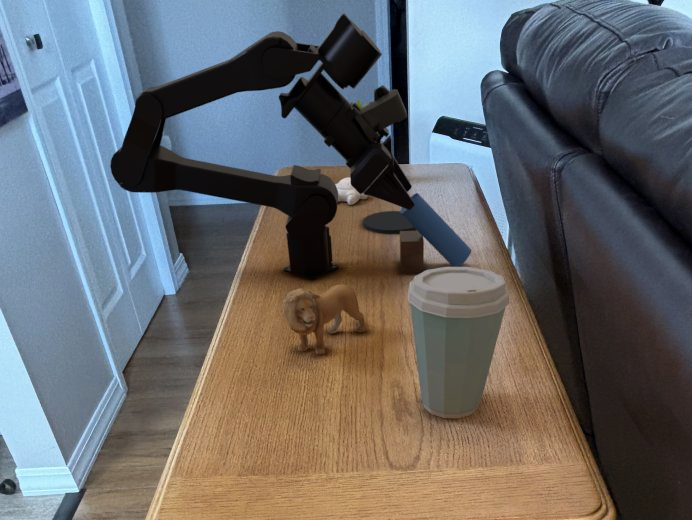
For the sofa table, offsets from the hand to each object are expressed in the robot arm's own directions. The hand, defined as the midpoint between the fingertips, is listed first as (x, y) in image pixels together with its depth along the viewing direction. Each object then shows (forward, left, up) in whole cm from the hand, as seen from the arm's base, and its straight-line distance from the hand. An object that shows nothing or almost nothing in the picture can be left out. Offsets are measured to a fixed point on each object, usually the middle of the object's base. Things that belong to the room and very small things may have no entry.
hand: (411, 198), depth 110 cm
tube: (+2, -3, -5) cm, 6 cm away
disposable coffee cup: (-31, -30, -11) cm, 45 cm away
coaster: (+16, +16, -11) cm, 25 cm away
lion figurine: (-28, -8, -11) cm, 31 cm away
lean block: (0, 0, -11) cm, 11 cm away
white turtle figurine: (+24, +34, -11) cm, 43 cm away
